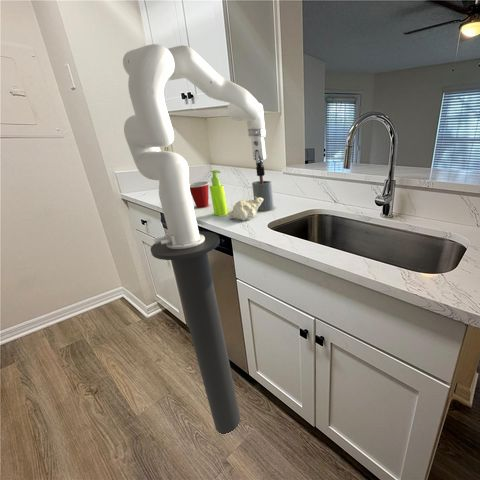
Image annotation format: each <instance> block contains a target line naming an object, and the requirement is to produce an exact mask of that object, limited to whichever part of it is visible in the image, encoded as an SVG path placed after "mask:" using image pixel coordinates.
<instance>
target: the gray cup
mask: <svg viewBox="0 0 480 480" xmlns="http://www.w3.org/2000/svg"><path fill="white" fill-rule="evenodd" d="M251 186H252V187H251V188H252V194H253V200H254V199H256V198H259V197H261V198H263V200H264V201H263V202H262V203H261V205H260V206H259V207H258V210H257V212H267V211H268V212H269V211H273V210H274V198H273V197H274V196H273V185H272V181H270V180H263V184H260V180H257V181H253V182H252V183H251Z"/></svg>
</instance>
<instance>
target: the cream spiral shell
mask: <svg viewBox="0 0 480 480" xmlns="http://www.w3.org/2000/svg"><path fill="white" fill-rule="evenodd" d="M263 201H264V200H263V198H261V197H259V198H256V199H254V198H253V199H250V200H238V201H237V202H236V203H235V204H234V205H233V208H232V210H231V211H228V213H227V214H226V215H227V216H226V217H227V219H229V220H241V221H247V220H248V221H250V220H251V219H253V218H255V217H256V215H257V212H258V211H257V210H258V207H259V206H260V205H261V203H262V202H263Z"/></svg>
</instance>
